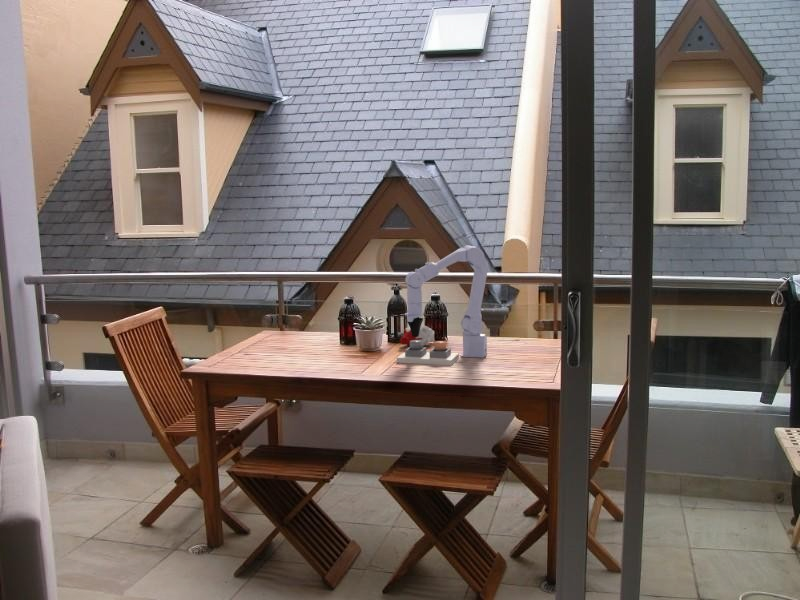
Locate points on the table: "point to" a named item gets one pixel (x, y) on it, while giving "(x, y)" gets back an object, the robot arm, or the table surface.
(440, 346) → the terracotta button
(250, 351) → the table surface
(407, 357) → the button panel
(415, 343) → the grey low dome
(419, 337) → the white red irregular piece
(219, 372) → the table surface
